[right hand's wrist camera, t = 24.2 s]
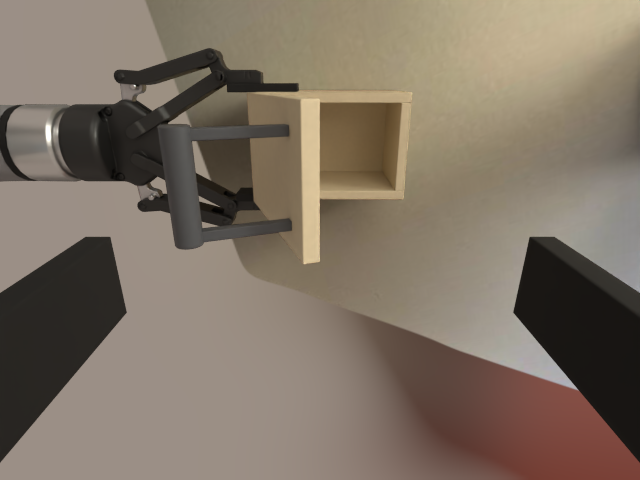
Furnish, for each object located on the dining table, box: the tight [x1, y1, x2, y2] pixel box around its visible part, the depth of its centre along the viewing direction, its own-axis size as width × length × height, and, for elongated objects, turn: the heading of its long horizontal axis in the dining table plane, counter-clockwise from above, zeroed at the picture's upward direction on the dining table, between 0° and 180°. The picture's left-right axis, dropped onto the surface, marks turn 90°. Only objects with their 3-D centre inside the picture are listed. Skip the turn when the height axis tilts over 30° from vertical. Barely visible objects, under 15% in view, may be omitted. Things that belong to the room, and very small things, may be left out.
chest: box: [259, 90, 412, 200], centre depth 41 cm, size 14×10×10 cm
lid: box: [157, 92, 320, 264], centre depth 28 cm, size 15×10×8 cm
